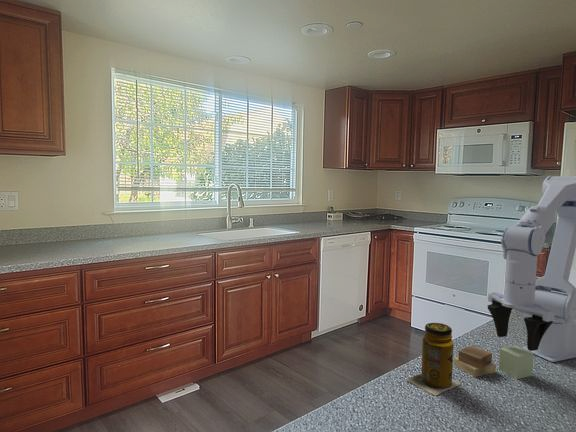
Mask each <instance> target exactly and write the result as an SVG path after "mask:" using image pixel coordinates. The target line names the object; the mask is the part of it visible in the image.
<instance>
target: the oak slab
mask: <svg viewBox="0 0 576 432" xmlns="http://www.w3.org/2000/svg"><path fill="white" fill-rule="evenodd" d="M458 358H459V356H456V357H453V365H454V366H455V367H457V368H458V369H460V370H462V371H464V372H465V373H467V374H468V375H470V376H472V377H473V378H474V377H475V378H476V377H479V376H480V377H481V376H485V375H489V374H490V375H491V374H495V373H496V370H497V369H496V368H497V365H496V364H495V363H490V364H488V365H486V366H484V367H482V368H481V369H480V368H477V367H474V366H472V365H469V364H467V363H464V362H461V361H459V360H458Z"/></svg>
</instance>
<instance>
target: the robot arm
mask: <svg viewBox="0 0 576 432" xmlns="http://www.w3.org/2000/svg"><path fill="white" fill-rule="evenodd" d="M541 188H542V189H541V192H542V196H541V198H540V200H539V201H538V203H537V205H531V207H529V208H528V209H527V210H526V211H525V213H523V214H522V216H521V217H520V219H519V220H518V221H517V222H516V224H515V225H510V226H509V227H506V228H505V229H504V231H503V233H502V236H501V240H500V243H501V247H502V250H503V251H502V252H503V259H504V260H505V271H504V293H503V294H502V293H498V292H488V299H487V301H488V302H489V303H491V304H487V310H488V311H489V313H490V315H491V318H492V320H493V322H494V323H493V324H494V327H495V330H496V335H497V337H498V338H504V337H507V336H508V332H509V322H510V316H511V313H512V310H516V311H519V312H521V313H525V314H527V315H529V317H528V316H527V317H524V318H523V321H524V323H525V326H526V327H525V328H526V333H527V336H526V337H527V338H526V346H523V347H522V349H524V350H526V351H528V352H531V353H533V355H536V356H537V357H539V358H542V359H545V360H547V361H549V362H551V363H555V362H560V361H565V360H569V359H570V360H571V359H574V358H576V322H575V321H574V320H576V287H575V286H574V285H573V284H572V283H571V282H570V281H569V279H570V274H571V269H572V266H573V261H574V256H575V252H576V175H567V176H566V175H561V176H560V175H559V176H554V175H548V176H547V177H545V179H544V180H543V182H542V187H541ZM554 214H556V215H557V221H556V226H555V230H554V234H553V238H552V243H551V247H550V251H549V255H548V259H547V264H546V267H545V272H544V275H543V276H541V277H539V278H537V267H538V266H537V265H538V255H539V254H540V253H541V252H542V250H543V248H544V243H545V241H546V234H547V233H548V232H549V230H550V228H551V227H552V225H553V224H554V223H555V215H554Z"/></svg>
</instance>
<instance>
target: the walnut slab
mask: <svg viewBox="0 0 576 432" xmlns="http://www.w3.org/2000/svg"><path fill="white" fill-rule="evenodd" d="M458 357H459V358H458V360H459V361H461V362H464V363H467V364H469V365H472V366H474V367H477V368H480V369H481V368H482V367H484V366H486V365H488V364H490V363H492V362H493V352H491V351H488V350H485V349H482V348H479V347H475V346H473V345H469V346H466V347H465V348H462V349H460V350H458Z"/></svg>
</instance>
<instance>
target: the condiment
mask: <svg viewBox="0 0 576 432" xmlns="http://www.w3.org/2000/svg"><path fill="white" fill-rule="evenodd" d="M423 334H424V336H423V337H422V345H421V346H422V347H421V348H422V349H421V373H419V374H416V375H413V376H411V377H408V378H405V380H406V381H408V382H409V383H411V384H413V385H414V386H416V387H418V388H420V389H421V390H423V391H426V392H427V393H428V394H431V395H434V396H435V397H437V396H438V395H440V394H442V393H444V392H446V391H448V390H451V389H453V388H455V387H457V386H460V385H461V384H462V383H461V382H458V381H457V380H454V379H453V365H454V341H453V339H452V338H453V335H452V334H453V330H452V328H451V326H449V325H447V324H445V323H442V322H441V323H440V322H429V323H427V324H425V327H424V333H423Z"/></svg>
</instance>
